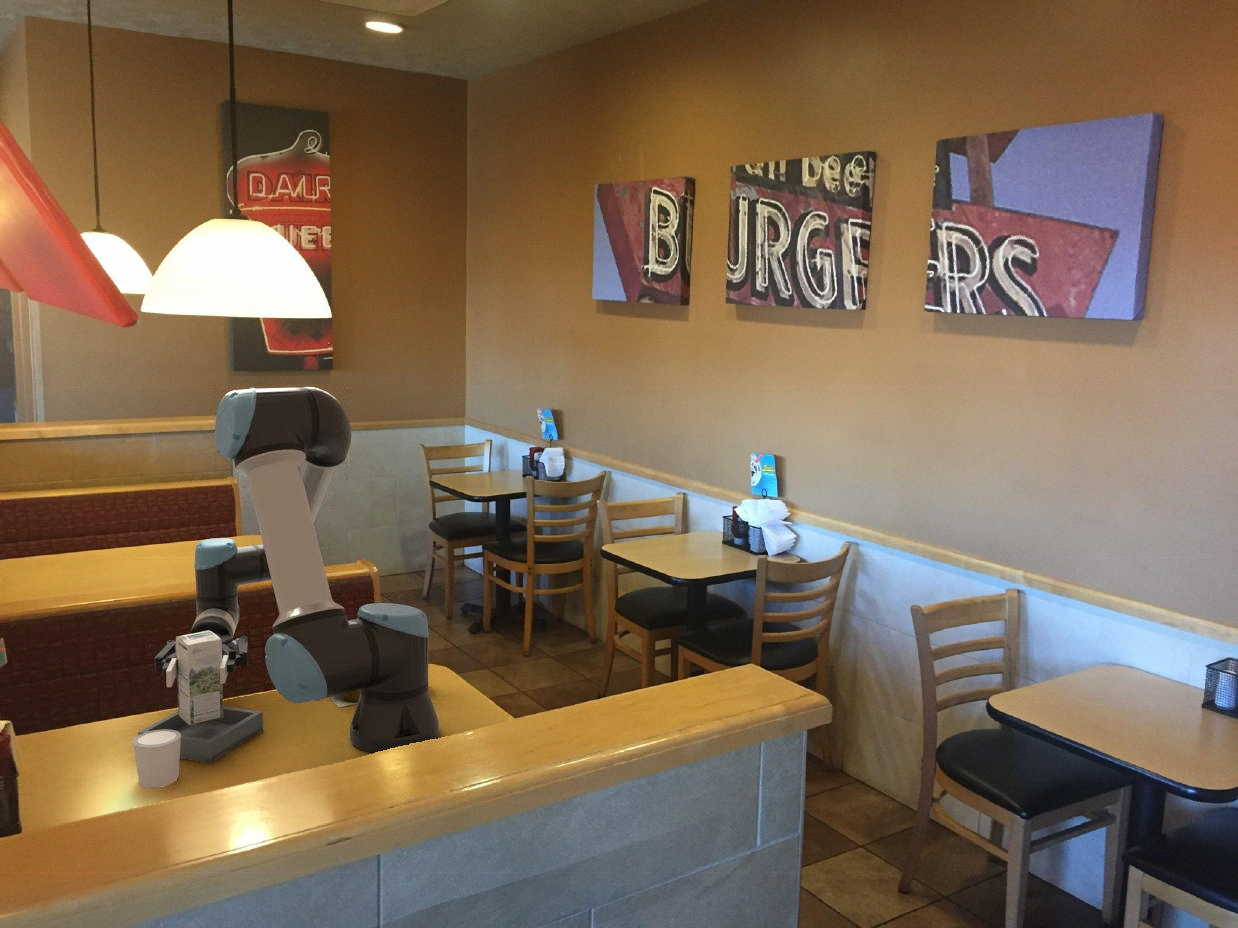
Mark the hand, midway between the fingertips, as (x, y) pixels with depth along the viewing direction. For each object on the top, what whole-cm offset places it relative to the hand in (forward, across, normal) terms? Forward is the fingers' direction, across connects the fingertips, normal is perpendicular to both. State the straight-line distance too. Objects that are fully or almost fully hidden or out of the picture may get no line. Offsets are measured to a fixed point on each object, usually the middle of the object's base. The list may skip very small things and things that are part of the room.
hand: (195, 677), depth 167 cm
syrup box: (-5, 0, -9) cm, 10 cm away
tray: (-5, 0, -13) cm, 14 cm away
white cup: (+9, +5, -13) cm, 17 cm away
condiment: (-20, -26, -13) cm, 35 cm away
